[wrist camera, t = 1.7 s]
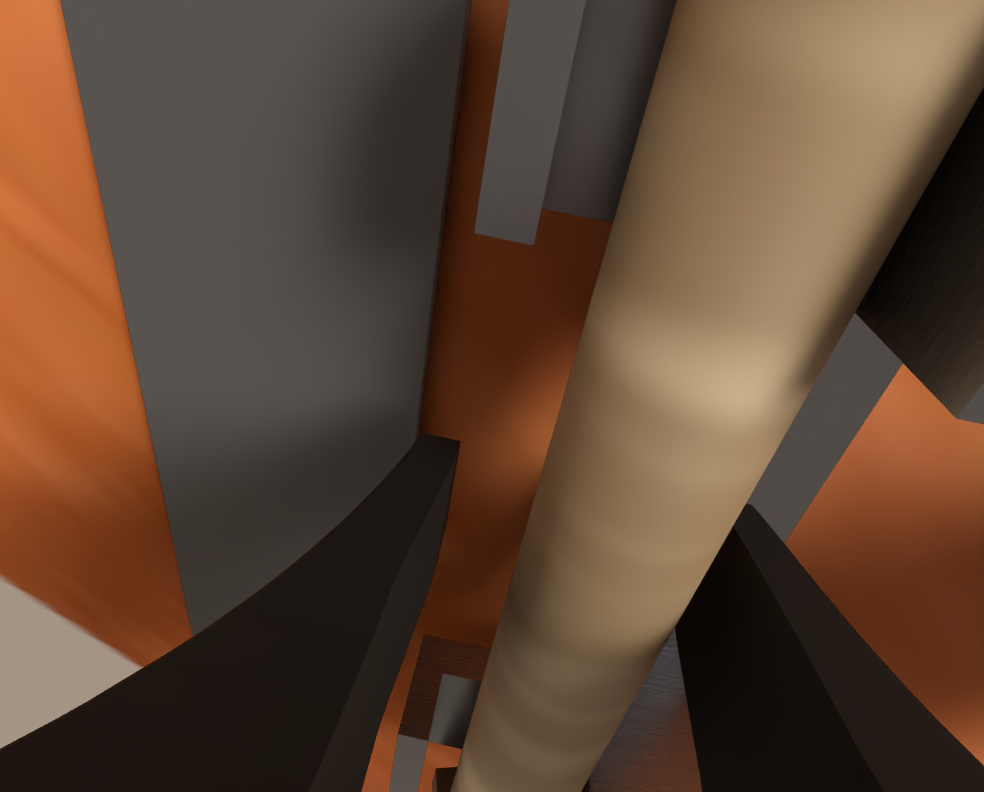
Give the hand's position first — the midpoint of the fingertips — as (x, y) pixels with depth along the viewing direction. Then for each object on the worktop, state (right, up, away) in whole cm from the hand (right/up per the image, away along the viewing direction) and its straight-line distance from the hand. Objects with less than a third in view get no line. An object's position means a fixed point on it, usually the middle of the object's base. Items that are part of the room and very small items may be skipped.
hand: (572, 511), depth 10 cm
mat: (-6, +3, +2) cm, 7 cm away
